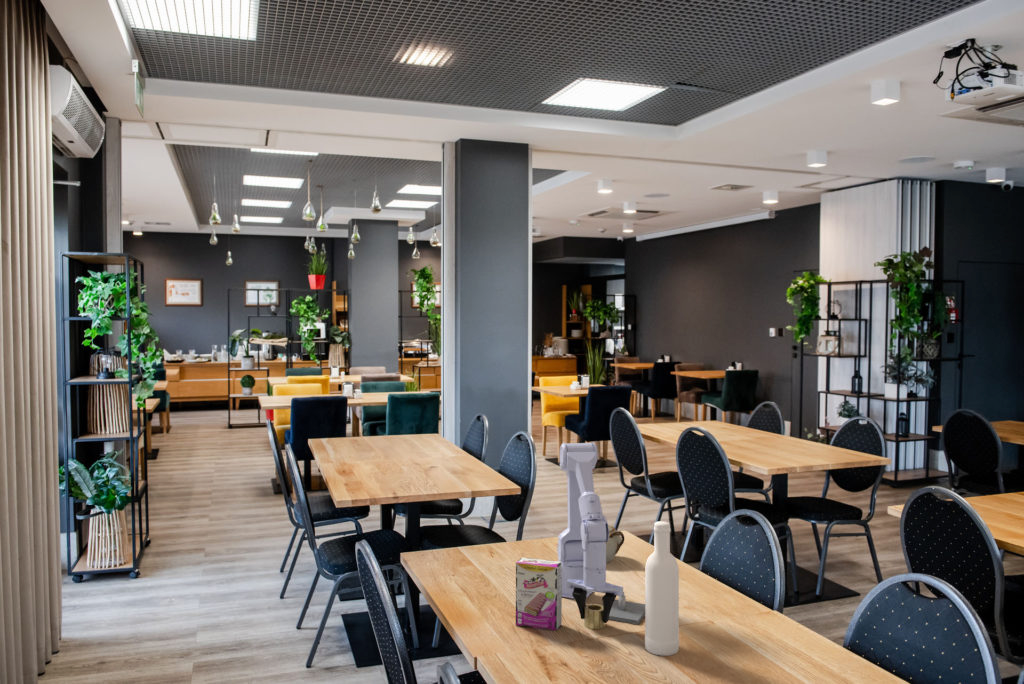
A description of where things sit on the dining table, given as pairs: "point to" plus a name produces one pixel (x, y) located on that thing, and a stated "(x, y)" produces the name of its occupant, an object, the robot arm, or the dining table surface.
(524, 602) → the candy bar box
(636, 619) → the stand
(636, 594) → the dining table surface
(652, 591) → the bottle
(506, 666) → the dining table surface
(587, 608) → the collar
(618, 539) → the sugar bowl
